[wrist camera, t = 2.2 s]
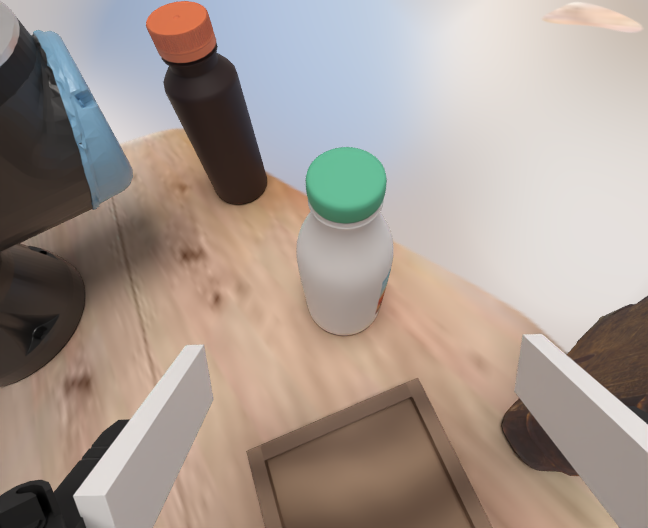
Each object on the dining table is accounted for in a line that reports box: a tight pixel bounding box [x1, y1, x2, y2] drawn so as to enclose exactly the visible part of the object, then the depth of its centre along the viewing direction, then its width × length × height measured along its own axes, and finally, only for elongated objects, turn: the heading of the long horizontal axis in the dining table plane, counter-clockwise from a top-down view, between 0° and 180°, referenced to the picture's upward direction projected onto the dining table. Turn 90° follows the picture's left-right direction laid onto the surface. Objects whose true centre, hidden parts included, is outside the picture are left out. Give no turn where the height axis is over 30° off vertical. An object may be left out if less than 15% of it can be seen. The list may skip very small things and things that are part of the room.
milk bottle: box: [297, 147, 393, 335], centre depth 28 cm, size 8×8×20 cm
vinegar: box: [146, 1, 267, 204], centre depth 36 cm, size 7×7×20 cm
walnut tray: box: [246, 378, 492, 528], centre depth 27 cm, size 16×16×2 cm
